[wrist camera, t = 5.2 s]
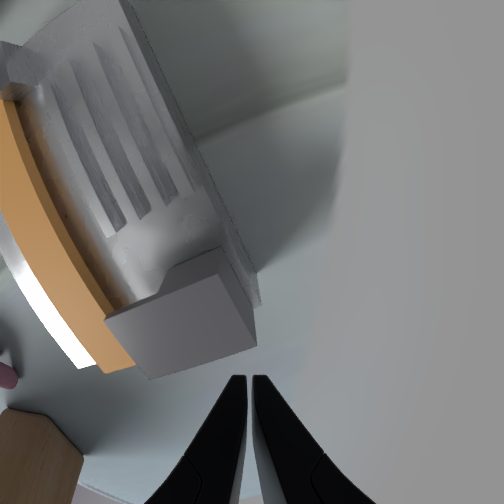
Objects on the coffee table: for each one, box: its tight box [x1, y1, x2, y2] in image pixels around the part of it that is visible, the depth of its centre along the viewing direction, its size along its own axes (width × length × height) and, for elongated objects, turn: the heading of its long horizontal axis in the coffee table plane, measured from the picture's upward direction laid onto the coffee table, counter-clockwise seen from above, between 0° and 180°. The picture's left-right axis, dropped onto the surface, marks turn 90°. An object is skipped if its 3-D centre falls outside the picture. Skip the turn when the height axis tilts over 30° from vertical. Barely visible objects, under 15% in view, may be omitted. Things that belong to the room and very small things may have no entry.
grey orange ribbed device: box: [0, 0, 262, 369], centre depth 14 cm, size 20×14×7 cm
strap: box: [0, 100, 136, 374], centre depth 13 cm, size 19×3×1 cm, turn 23°
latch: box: [103, 246, 257, 380], centre depth 14 cm, size 4×6×3 cm, turn 113°
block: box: [0, 408, 84, 504], centre depth 18 cm, size 10×10×20 cm
